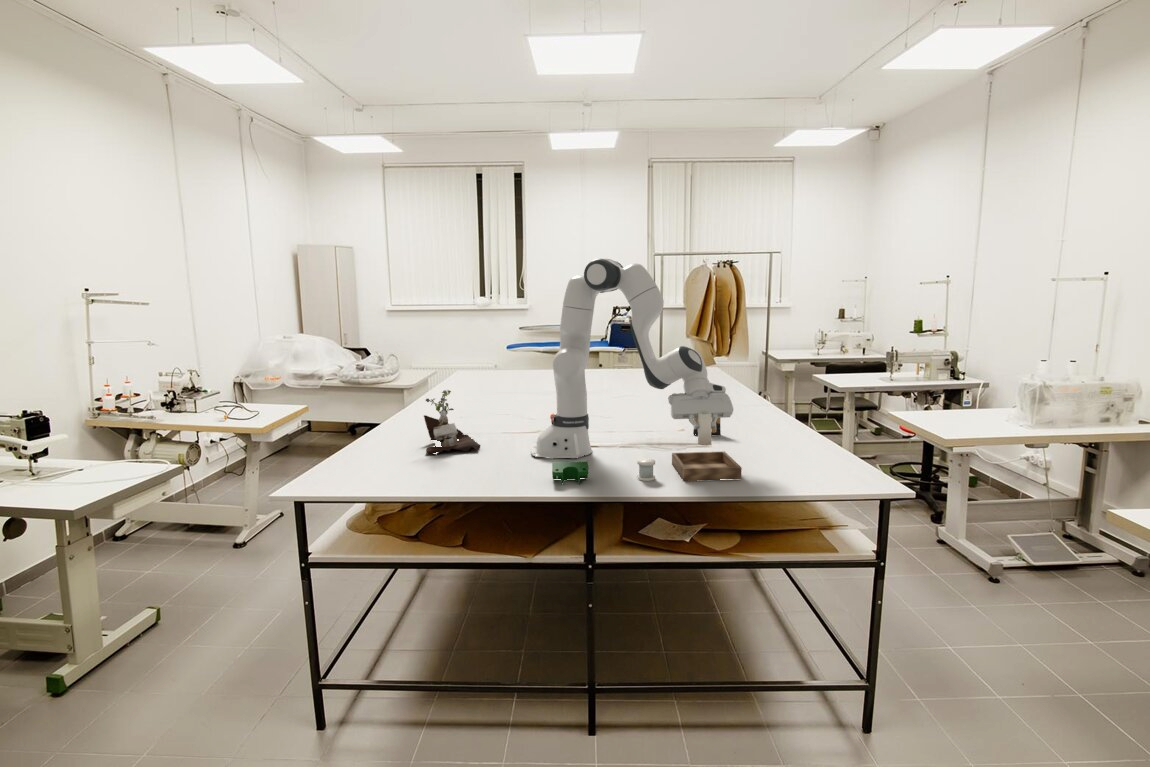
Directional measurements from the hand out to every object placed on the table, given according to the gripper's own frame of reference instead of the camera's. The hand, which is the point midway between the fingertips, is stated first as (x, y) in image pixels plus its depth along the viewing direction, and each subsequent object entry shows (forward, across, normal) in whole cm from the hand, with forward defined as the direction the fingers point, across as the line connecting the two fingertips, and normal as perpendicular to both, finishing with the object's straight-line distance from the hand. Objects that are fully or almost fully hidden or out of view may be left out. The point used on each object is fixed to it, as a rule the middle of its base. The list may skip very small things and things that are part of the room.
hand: (705, 428), depth 190 cm
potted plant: (-16, -88, +36) cm, 97 cm away
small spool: (+14, -20, +6) cm, 26 cm away
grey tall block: (+3, 0, +4) cm, 5 cm away
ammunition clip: (-22, +13, +43) cm, 50 cm away
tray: (+11, 0, +9) cm, 14 cm away
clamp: (+15, -44, +5) cm, 47 cm away
